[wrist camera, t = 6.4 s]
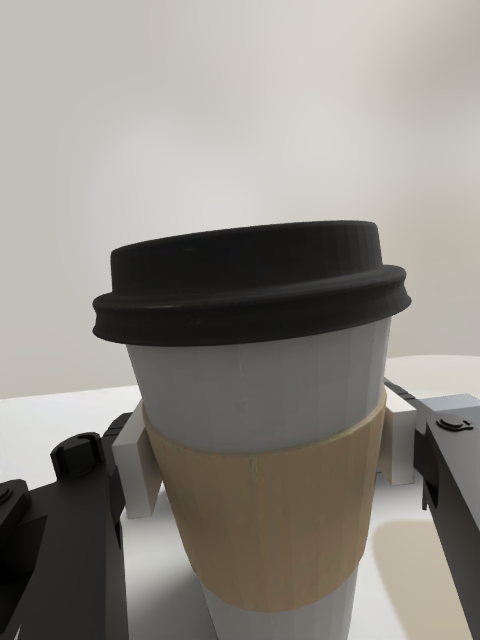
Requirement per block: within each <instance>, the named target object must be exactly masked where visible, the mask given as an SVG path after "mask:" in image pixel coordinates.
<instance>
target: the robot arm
mask: <svg viewBox="0 0 480 640" xmlns="http://www.w3.org/2000/svg"><path fill="white" fill-rule="evenodd" d="M383 383H384V386H385V389H386V393H387V401H386V408H385V415H384V422H383V430H382V437H381V444H380V451H379V458H378V465H377V467H378V468H379V470H380V471H381V472H382V474H383V475H384V476H385V478H386V479H387V480H388V482H389V483H390V484H391V486H396V485H404V484H412V483H414V467H415V468H416V470H417V471H418V472H419V473H420V474H421V475H422V476H423V477H424V478H423V498H422V510H427V504H428V505H429V508H430V511H431V514H432V518H433V521H434V524H435V526H436V529H437V533H438V536H439V538H440V542H441V545H442V548H443V551H444V554H445V557H446V560H447V563H448V566H449V568H450V571H451V574H452V578H453V581H454V584H455V587H456V589H457V593H458V596H459V599H460V602H461V605H462V608H463V611H464V614H465V617H466V620H467V623H468V626H469V629H470V632H471V635H472V638H473V640H480V430H479V428H478V427H477V426H476V425H475V424H474V423H472V422H471V421H469V420H467V419H465V418H462V417H459V416H456V415H453V414H447V413H436V412H435V411H433V410H432V409H431V408H429V407H428V406H426V405H425V404H424V403H422V402H421V401H419V400H418V399H415V397H414V396H412V395H411V394H408V392H407V391H405V390H404V389H402V388H401V387H400V386H397V385H395V384H392V383H389V382H383ZM142 402H143V399H141V401H140V402H139V404H138V405H137V407H136V408H135V410H134V412H131V413H123V414H122V415H120V416H119V417H118V418H116V419H115V420H114V421H113V422H112V423H111V425H110V426H109V428H108V430H106V432H105V433H104V435H103V437H100V435H99V434H97V433H95V432H86V433H82V434H78V435H75V436H73V437H70V438H68V439H66V440H65V441H63V442H61V443H60V444H59V445H57V446H56V447H55V448H54V449H53V451H52V452H51V454H50V456H51V459H52V463H53V466H54V470H55V473H56V477H57V481H56V482H54V483H51V484H48V485H45V486H42V487H39V488H36V489H33V490H30V491H29V490H28V487H27V484H26V481H24V480H21V479H16V480H10V481H7V482H4V483H0V640H14V638H15V636H16V634H17V632H18V629H19V627H20V631H19V635H18V639H17V640H129V634H128V618H127V601H126V585H125V569H124V552H123V536H122V526H121V522H120V516H121V513H122V511H123V509H124V506H125V507H126V511H127V516H128V519H134V518H142V517H150V516H152V513H153V510H154V507H155V503H156V500H157V497H158V493H159V490H160V486H161V483H162V477H161V474H160V471H159V467H158V464H157V461H156V458H155V455H154V452H153V449H152V446H151V442H150V439H149V436H148V433H147V430H146V427H145V424H144V420H143V414H142ZM20 625H21V626H20Z"/></svg>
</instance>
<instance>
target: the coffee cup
mask: <svg viewBox="0 0 480 640" xmlns="http://www.w3.org/2000/svg"><path fill="white" fill-rule="evenodd" d="M111 276H112V292H110V293H107V294H103V295H101V296H99V297H97V298H95V299H94V301H93V308H94V310H95V312H96V314H97V317H96V323H95V326H94V328H93V334H94V335H95V336H97V337H98V338H101V339H104V340H106V341H110V342H115V343H120V344H126V347H127V350H128V353H129V357H130V360H131V363H132V366H133V369H134V373H135V376H136V379H137V383H138V386H139V389H140V392H141V395H142V399H143V402H142V414H143V420H144V424H145V427H146V430H147V433H148V436H149V439H150V442H151V446H152V449H153V452H154V455H155V458H156V461H157V464H158V467H159V471H160V474H161V477H162V480H163V483H164V486H165V489H166V492H167V496H168V499H169V502H170V505H171V508H172V511H173V514H174V518H175V521H176V524H177V527H178V530H179V533H180V536H181V539H182V543H183V546H184V549H185V551H186V554H187V556H188V559H189V561H190V564H191V566H192V568H193V570H194V572H195V573H196V574H197V576H198V578H199V581H200V584H201V587H202V590H203V593H204V596H205V600H206V603H207V606H208V609H209V612H210V615H211V618H212V621H213V625H214V628H215V631H216V634H217V637H218V639H219V640H347V637H348V632H349V628H350V621H351V614H352V607H353V600H354V593H355V586H356V579H357V572H358V565H359V561H360V559H361V558H362V556H363V554H364V549H365V545H366V540H367V536H368V529H369V522H370V515H371V508H372V501H373V494H374V486H375V479H376V472H377V465H378V458H379V451H380V444H381V437H382V430H383V422H384V415H385V408H386V401H387V393H386V389H385V386H384V383H383V378H384V370H385V363H386V355H387V347H388V339H389V331H390V324H391V316H393V315H395V314H397V313H399V312H401V311H403V310H405V309H406V308H407V307H408V306H409V305H410V304H411V301H412V300H411V298H410V297H409V296H408V295H407V292H406V289H405V287H404V281H405V278H406V271H405V269H403V268H402V267H399V266H394V265H383V264H382V257H381V249H380V241H379V234H378V228H377V226H376V224H375V223H372V222H367V221H351V220H350V221H348V220H338V221H312V222H295V223H284V224H271V225H259V226H250V227H240V228H231V229H222V230H214V231H206V232H198V233H191V234H185V235H178V236H171V237H166V238H160V239H154V240H149V241H144V242H139V243H135V244H131V245H127V246H123V247H120V248H118V249H115V250H113V251H112V252H111Z"/></svg>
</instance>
